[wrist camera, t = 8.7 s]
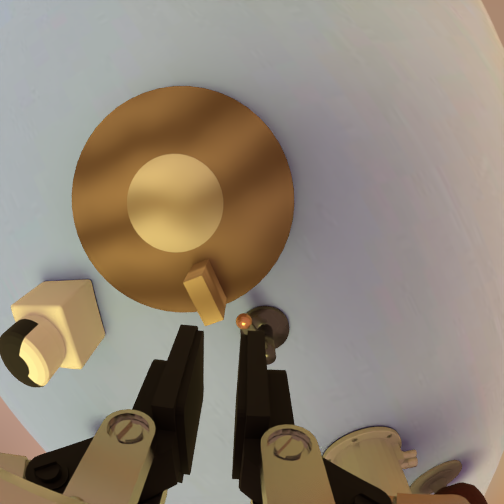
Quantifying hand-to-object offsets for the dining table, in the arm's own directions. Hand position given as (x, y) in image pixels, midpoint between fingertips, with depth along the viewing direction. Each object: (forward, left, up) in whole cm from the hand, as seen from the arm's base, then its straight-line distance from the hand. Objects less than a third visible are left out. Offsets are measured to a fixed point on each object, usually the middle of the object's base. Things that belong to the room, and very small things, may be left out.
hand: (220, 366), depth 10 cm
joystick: (-3, +9, -21) cm, 23 cm away
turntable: (+6, -2, -20) cm, 21 cm away
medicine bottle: (+19, +11, -21) cm, 30 cm away
